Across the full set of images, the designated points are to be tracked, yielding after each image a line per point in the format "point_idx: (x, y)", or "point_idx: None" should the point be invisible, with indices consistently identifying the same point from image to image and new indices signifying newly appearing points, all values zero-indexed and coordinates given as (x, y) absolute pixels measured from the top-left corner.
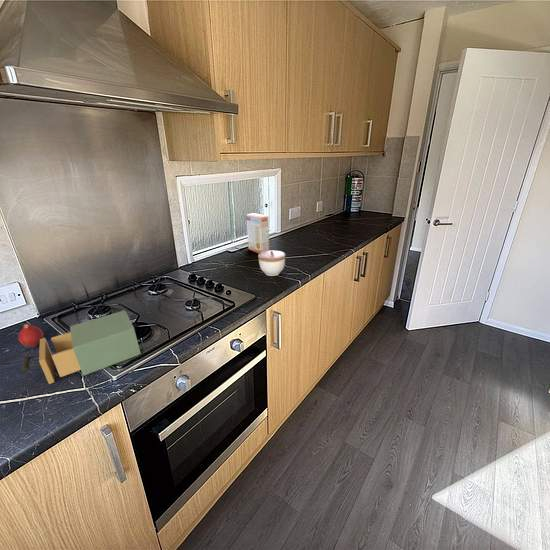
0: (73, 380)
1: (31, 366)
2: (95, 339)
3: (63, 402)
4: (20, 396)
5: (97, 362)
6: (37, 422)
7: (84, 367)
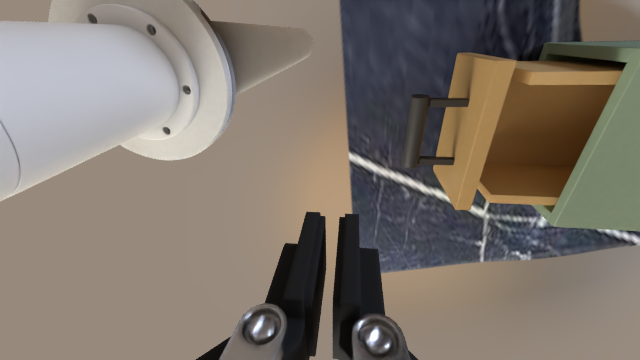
0: None
1: (426, 164)
2: (630, 226)
3: (439, 225)
4: (376, 158)
5: None
6: (396, 241)
7: None
